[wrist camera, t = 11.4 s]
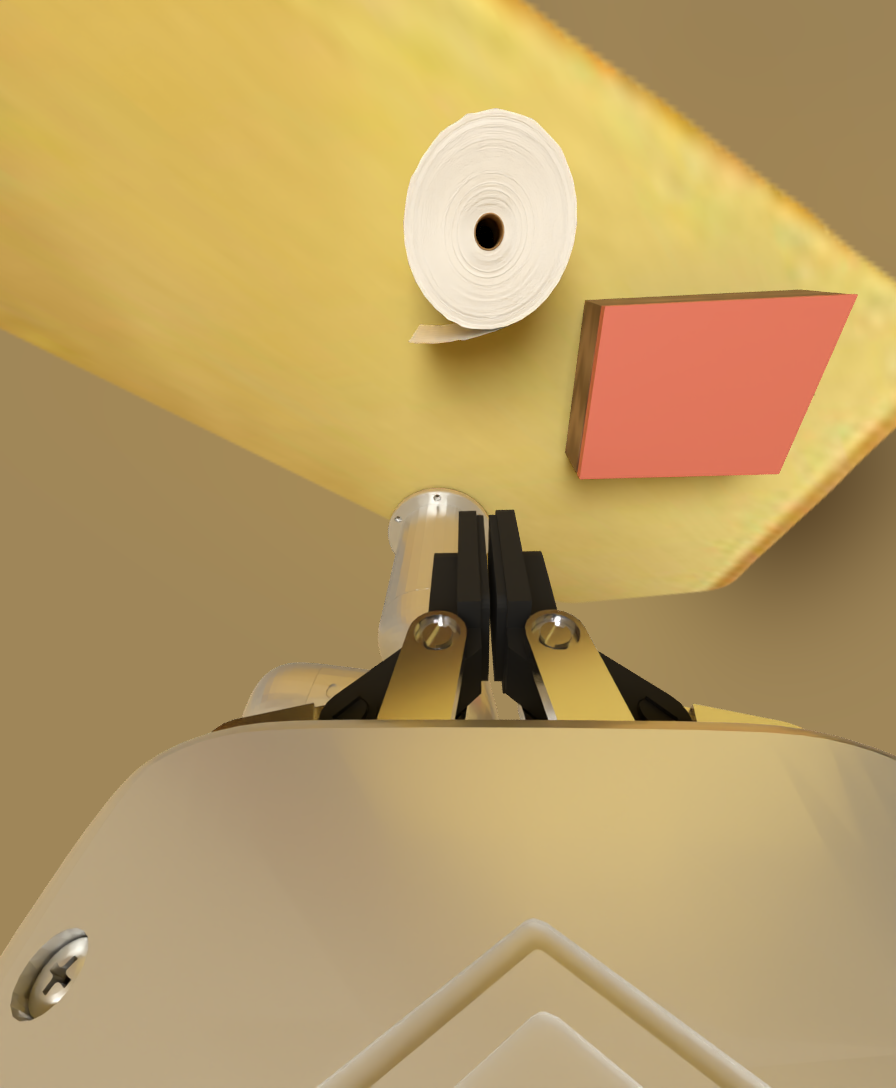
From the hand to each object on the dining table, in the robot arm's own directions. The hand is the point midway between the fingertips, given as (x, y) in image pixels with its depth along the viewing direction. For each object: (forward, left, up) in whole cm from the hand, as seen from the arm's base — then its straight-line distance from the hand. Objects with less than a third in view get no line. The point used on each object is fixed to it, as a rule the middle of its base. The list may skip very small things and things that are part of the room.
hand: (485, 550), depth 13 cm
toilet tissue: (+8, -1, -31) cm, 32 cm away
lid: (-3, -19, -26) cm, 32 cm away
